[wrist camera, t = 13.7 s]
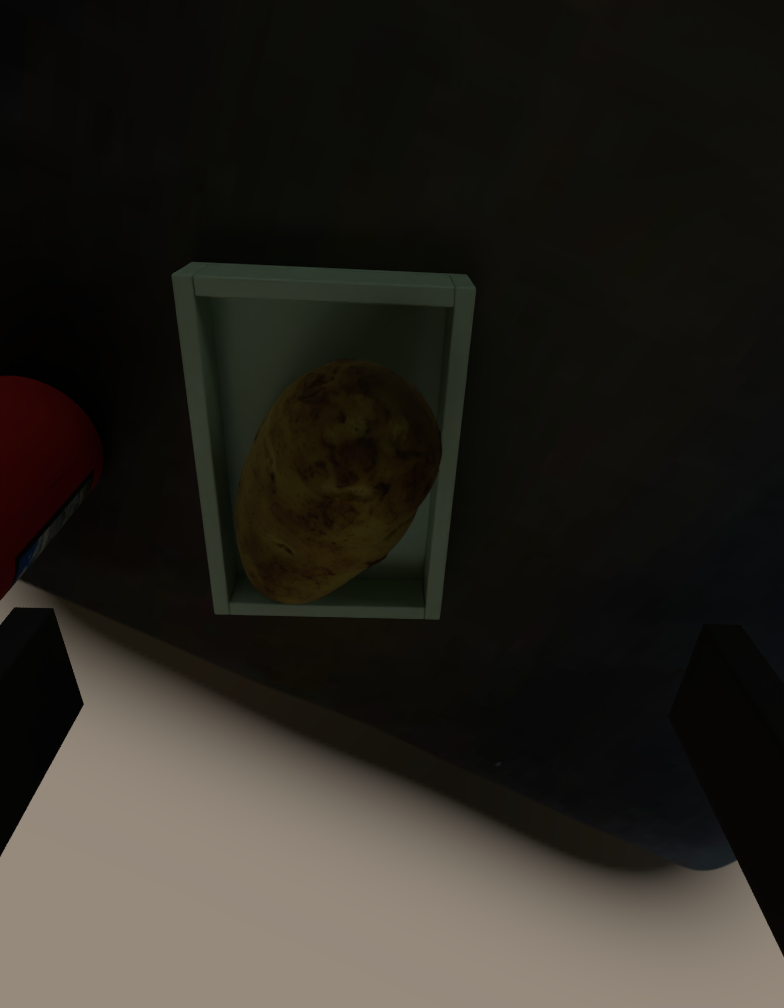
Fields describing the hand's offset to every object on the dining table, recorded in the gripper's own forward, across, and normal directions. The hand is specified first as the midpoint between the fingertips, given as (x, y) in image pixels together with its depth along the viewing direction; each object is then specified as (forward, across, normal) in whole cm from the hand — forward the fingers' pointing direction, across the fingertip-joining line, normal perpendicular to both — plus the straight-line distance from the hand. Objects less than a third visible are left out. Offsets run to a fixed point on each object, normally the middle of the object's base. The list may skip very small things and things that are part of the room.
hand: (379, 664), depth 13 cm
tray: (+18, +3, +4) cm, 18 cm away
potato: (+18, +3, +4) cm, 18 cm away
